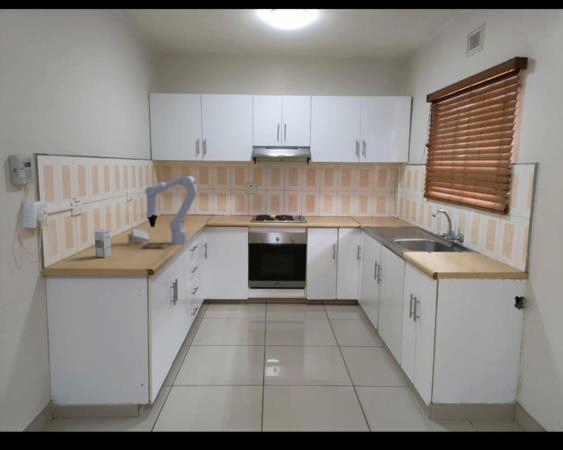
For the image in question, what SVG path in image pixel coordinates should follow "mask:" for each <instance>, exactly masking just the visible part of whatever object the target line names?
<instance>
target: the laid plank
mask: <svg viewBox="0 0 563 450" xmlns="http://www.w3.org/2000/svg"><path fill="white" fill-rule="evenodd" d="M170 243H171V242H169V241H168V242H164V241H163V242H160V243H159V244H157V245H156V246H154V249H153V250H166V249H167V248H169V247H170V246H171V245H170ZM169 245H170V246H169ZM168 246H169V247H168ZM166 247H167V248H166ZM165 248H166V249H165Z"/></svg>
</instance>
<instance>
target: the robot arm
mask: <svg viewBox="0 0 563 450" xmlns="http://www.w3.org/2000/svg"><path fill="white" fill-rule="evenodd" d="M197 184H198V183H197V180H196V177H194V176H192V175H189V176H186V175H185V176H183V177H178V178H176V179H173V180H171V181H168V182H164V181H160V182H158V184H152V186H148V187H146V188H145V190H144V191H145V192H144V193H145V194H146V210H147V211H145V214H146V218H147V220H148V222H149V226H150V228H155V226H156V222H157V218H158V208H157V207H158V206H157V205H158V204H157V202H158V201H157V195H159V194H162V193H165V192H167V191H168V189H169V188H172V187H175V186H177V185H179V186H183V187H184V188H185V190H186V192H187V193H186V196H185V197H184V199H183V201H182V203H181V206H180V208H179V210H178V212H177V214H176V215H175V216H174V218H173V220H171V221H170V222H169V228H170V231H171V233H170V234H171V242H169V243H170V244H171V245H175V246H176V245H178V246H179V245H183V246H184V245H186V244H187V243H188V233H187V232H188V231H187V230H185V229H184V226H185V220H186V215H188V212H189V210H190V208H191V206H192V205H193V204H192V203H193V201H194V199H195V198H196V196H197V192H198V188H197Z"/></svg>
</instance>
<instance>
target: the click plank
mask: <svg viewBox="0 0 563 450" xmlns="http://www.w3.org/2000/svg"><path fill="white" fill-rule="evenodd" d="M159 243H160V242H157V241H156V242H152V241H151V242H150V241H149V242H146V243H145V244H144V245H142V246H141V248H142V249H141V250H155V249H154V246H156V245H157V244H159Z"/></svg>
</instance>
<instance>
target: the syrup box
mask: <svg viewBox="0 0 563 450" xmlns="http://www.w3.org/2000/svg"><path fill="white" fill-rule="evenodd" d="M93 232H94V247H95V258H104V259H105V258H108V257H111V256H112V248H111V247H112V245H111V230H110V229H97V230H94V231H93Z"/></svg>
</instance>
